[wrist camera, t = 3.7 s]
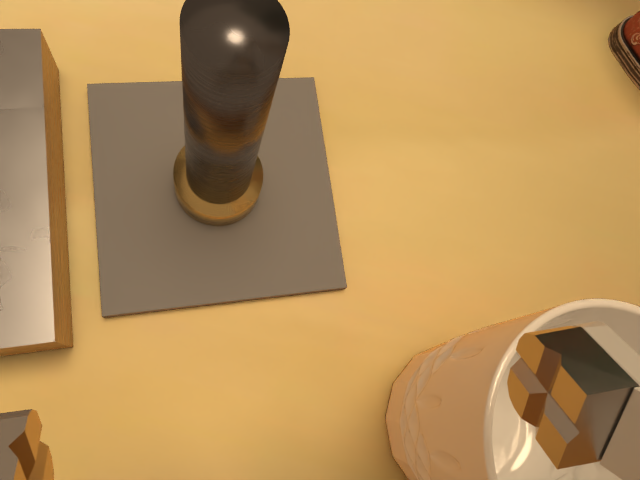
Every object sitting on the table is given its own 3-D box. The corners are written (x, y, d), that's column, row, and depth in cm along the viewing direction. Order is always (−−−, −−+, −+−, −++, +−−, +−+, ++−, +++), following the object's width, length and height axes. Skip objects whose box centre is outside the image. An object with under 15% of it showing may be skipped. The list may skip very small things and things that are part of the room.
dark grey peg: (273, 172, 25) (334, 10, 14) (234, 241, 24) (267, 122, 13) (201, 132, 25) (206, -65, 14) (158, 200, 24) (126, 43, 13)
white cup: (525, 540, 24) (738, 642, 15) (350, 493, 23) (457, 570, 14) (552, 357, 26) (752, 343, 17) (394, 308, 25) (512, 262, 16)
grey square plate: (311, 82, 27) (313, 77, 27) (344, 289, 25) (347, 287, 25) (89, 89, 25) (87, 83, 24) (104, 317, 23) (102, 316, 22)
